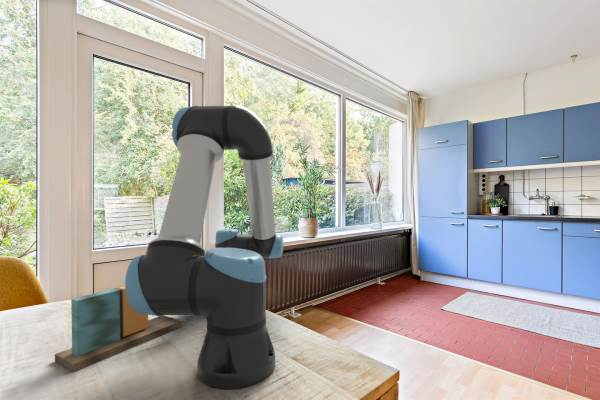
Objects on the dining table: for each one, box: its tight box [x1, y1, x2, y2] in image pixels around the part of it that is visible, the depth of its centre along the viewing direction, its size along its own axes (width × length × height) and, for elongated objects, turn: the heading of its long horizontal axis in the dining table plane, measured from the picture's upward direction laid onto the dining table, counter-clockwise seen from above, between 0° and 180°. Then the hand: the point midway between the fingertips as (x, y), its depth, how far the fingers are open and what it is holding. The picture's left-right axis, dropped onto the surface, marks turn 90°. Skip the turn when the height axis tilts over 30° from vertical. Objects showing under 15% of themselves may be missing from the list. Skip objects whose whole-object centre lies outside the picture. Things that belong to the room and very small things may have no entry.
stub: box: [117, 285, 149, 337], centre depth 74 cm, size 6×2×11 cm, turn 148°
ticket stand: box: [54, 287, 182, 373], centre depth 73 cm, size 25×8×13 cm, turn 148°
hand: (135, 304), depth 75 cm, fingers open, 13 cm apart
